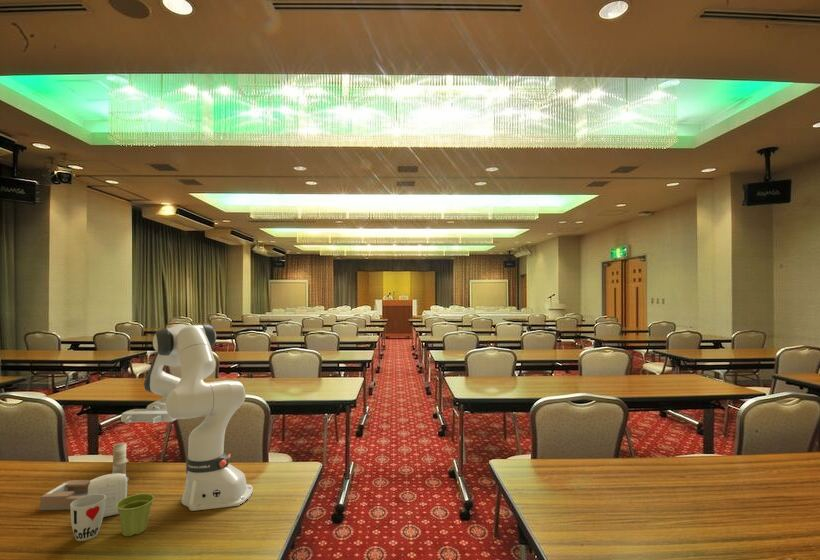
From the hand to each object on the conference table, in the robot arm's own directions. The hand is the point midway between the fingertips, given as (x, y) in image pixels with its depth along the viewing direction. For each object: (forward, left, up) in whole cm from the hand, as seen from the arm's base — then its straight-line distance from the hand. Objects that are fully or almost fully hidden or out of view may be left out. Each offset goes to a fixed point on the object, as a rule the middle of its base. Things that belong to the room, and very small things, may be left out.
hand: (139, 421), depth 168 cm
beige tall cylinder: (0, +12, -19) cm, 23 cm away
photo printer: (-10, +35, -19) cm, 41 cm away
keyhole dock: (+5, +25, -19) cm, 32 cm away
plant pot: (-24, +45, -19) cm, 55 cm away
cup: (-12, +47, -19) cm, 52 cm away
